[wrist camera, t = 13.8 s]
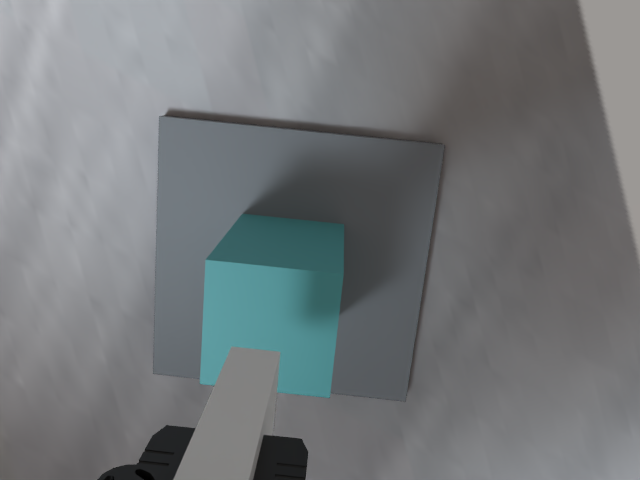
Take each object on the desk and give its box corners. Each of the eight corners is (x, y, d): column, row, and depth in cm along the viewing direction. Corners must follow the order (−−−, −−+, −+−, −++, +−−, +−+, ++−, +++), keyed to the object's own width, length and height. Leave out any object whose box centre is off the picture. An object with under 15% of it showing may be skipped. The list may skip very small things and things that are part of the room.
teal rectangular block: (236, 308, 31) (199, 383, 23) (242, 213, 29) (205, 259, 22) (333, 319, 31) (329, 397, 23) (344, 224, 29) (343, 274, 22)
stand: (157, 367, 33) (108, 440, 26) (164, 115, 29) (109, 124, 22) (404, 394, 33) (419, 475, 26) (442, 143, 29) (471, 162, 22)
